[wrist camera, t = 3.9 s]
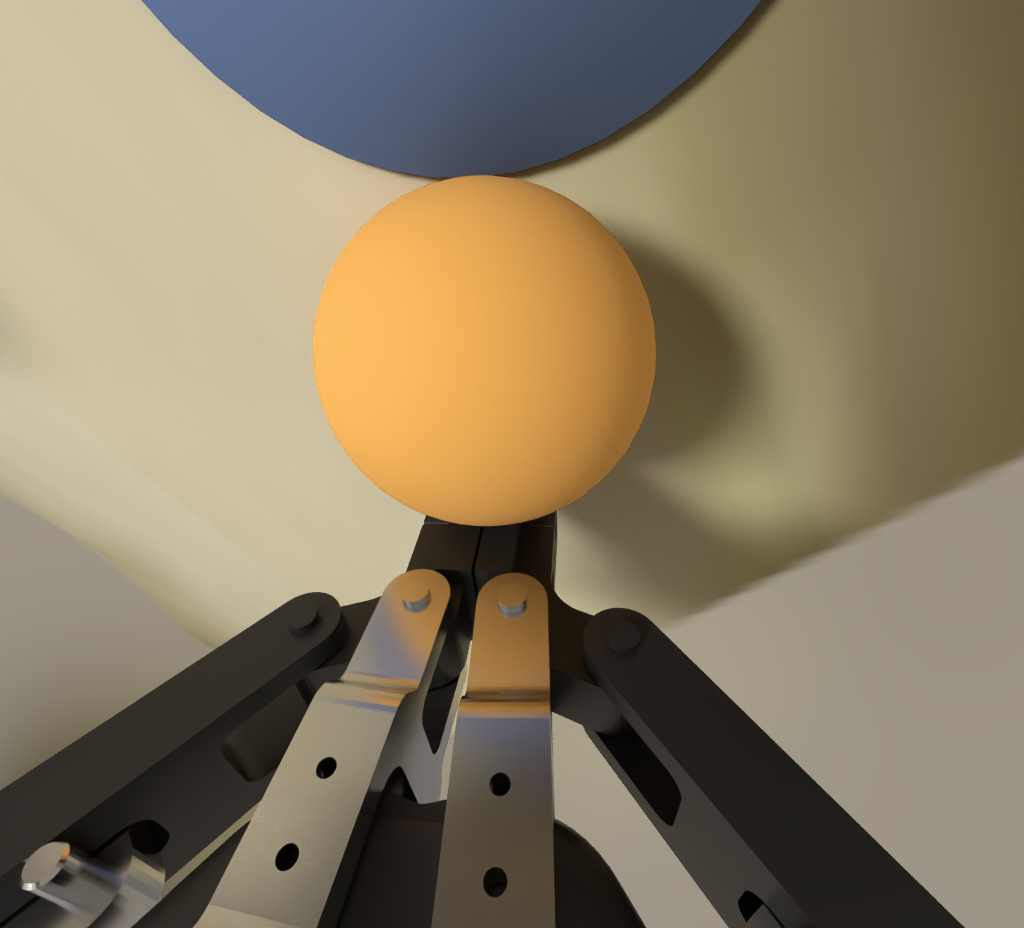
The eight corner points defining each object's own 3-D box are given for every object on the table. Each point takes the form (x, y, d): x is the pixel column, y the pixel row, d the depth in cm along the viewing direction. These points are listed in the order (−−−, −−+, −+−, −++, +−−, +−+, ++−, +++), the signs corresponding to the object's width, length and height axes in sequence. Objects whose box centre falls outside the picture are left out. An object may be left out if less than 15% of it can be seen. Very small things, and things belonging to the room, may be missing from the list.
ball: (388, 420, 14) (331, 162, 10) (612, 413, 13) (636, 147, 10) (320, 603, 9) (165, 233, 5) (668, 594, 9) (753, 204, 5)
